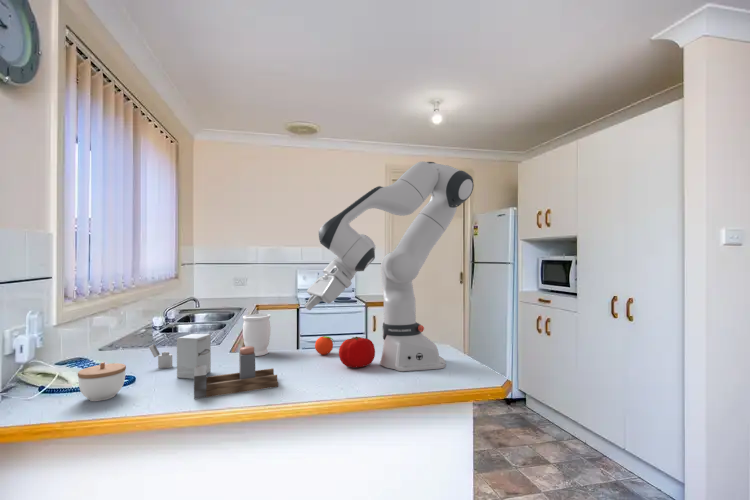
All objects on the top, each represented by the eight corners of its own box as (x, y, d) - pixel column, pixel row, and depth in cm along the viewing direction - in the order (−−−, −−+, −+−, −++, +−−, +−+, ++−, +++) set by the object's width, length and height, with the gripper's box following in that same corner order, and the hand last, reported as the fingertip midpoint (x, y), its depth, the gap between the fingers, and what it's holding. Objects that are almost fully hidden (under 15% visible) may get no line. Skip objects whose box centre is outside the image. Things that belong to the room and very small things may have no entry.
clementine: (338, 352, 150) (338, 334, 150) (331, 357, 143) (331, 338, 143) (319, 351, 152) (319, 333, 152) (312, 356, 145) (311, 337, 145)
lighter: (172, 366, 134) (172, 343, 135) (170, 367, 133) (170, 344, 133) (151, 367, 134) (151, 344, 134) (148, 368, 132) (148, 345, 132)
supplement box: (197, 379, 120) (196, 338, 120) (176, 378, 121) (175, 337, 121) (211, 372, 127) (211, 333, 127) (191, 371, 128) (191, 333, 129)
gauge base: (272, 377, 121) (272, 357, 121) (278, 386, 111) (277, 365, 111) (195, 387, 112) (195, 366, 112) (194, 398, 103) (193, 376, 103)
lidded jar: (75, 397, 105) (75, 363, 105) (121, 387, 113) (121, 355, 113) (81, 408, 98) (81, 370, 98) (130, 396, 105) (130, 362, 105)
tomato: (380, 368, 129) (379, 337, 129) (343, 372, 124) (343, 340, 124) (368, 359, 139) (368, 331, 139) (334, 364, 134) (333, 334, 134)
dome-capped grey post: (253, 376, 116) (253, 345, 116) (255, 381, 111) (255, 349, 111) (239, 378, 114) (239, 346, 114) (240, 383, 110) (240, 350, 110)
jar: (266, 357, 144) (265, 317, 145) (238, 357, 145) (238, 317, 145) (274, 350, 155) (273, 313, 155) (248, 350, 155) (248, 313, 156)
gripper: (320, 268, 133) (292, 298, 129) (339, 270, 114) (307, 305, 110) (333, 280, 135) (306, 310, 131) (353, 284, 116) (322, 319, 112)
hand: (306, 308), depth 120 cm, fingers closed
